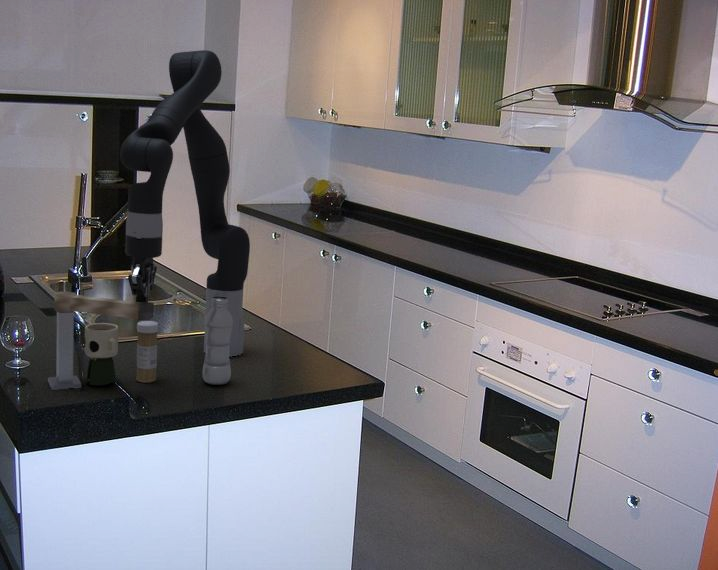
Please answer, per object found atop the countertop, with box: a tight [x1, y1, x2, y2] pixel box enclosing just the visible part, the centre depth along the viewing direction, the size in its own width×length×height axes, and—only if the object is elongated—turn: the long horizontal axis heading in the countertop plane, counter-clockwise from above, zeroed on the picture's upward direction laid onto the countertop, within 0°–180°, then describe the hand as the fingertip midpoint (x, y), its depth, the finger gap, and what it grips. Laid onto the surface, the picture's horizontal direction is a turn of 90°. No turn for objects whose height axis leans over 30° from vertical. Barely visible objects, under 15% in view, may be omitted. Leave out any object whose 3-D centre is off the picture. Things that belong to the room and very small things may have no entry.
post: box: [47, 311, 82, 391], centre depth 187 cm, size 6×6×16 cm
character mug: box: [83, 322, 119, 386], centre depth 190 cm, size 11×7×13 cm, turn 48°
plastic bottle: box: [202, 296, 233, 386], centre depth 195 cm, size 6×7×20 cm
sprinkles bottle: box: [135, 320, 159, 384], centre depth 195 cm, size 5×5×13 cm
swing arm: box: [53, 291, 155, 321], centre depth 184 cm, size 22×4×4 cm, turn 80°
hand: (141, 312), depth 186 cm, fingers closed
